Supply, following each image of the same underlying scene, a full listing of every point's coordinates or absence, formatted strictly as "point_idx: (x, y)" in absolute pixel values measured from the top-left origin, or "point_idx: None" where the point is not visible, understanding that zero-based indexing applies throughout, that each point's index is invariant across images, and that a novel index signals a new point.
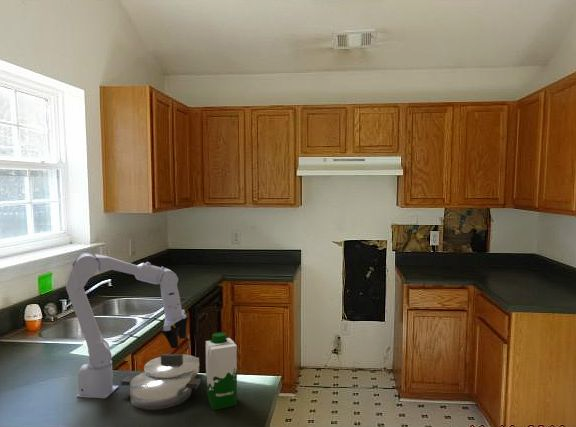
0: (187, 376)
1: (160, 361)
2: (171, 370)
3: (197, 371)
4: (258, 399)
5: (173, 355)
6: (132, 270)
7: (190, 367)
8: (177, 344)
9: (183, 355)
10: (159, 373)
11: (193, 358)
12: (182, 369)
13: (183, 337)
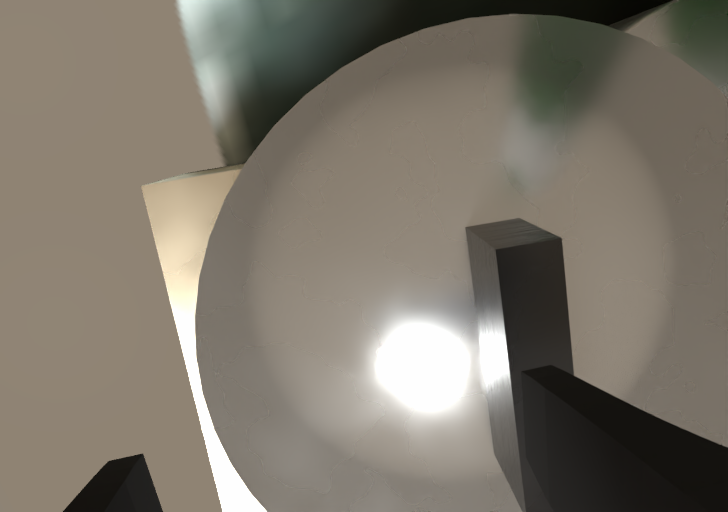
0: (678, 42)
1: (467, 495)
2: (681, 248)
3: (229, 166)
4: None
5: (553, 359)
6: None
7: (564, 72)
8: (585, 382)
9: (229, 353)
10: None
11: (284, 183)
12: (633, 140)
13: (146, 494)
